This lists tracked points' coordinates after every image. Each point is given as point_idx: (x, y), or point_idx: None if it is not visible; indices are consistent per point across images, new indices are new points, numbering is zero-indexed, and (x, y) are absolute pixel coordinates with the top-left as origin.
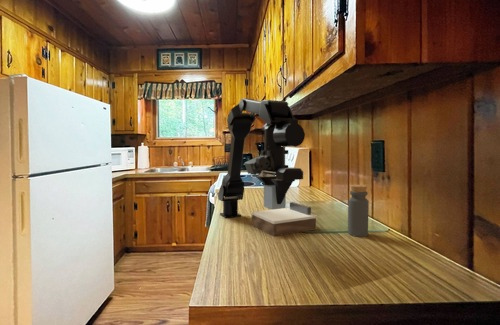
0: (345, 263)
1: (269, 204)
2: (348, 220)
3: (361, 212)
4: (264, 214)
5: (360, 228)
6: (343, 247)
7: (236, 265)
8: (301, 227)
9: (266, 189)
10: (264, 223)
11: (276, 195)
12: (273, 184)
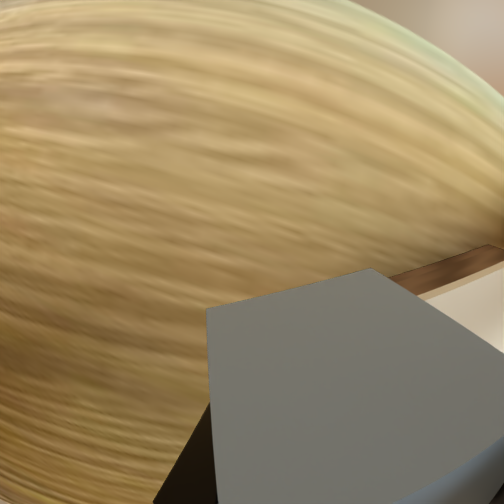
0: (19, 395)
1: (265, 317)
2: None
3: None
4: (486, 303)
5: None
6: (142, 458)
7: (46, 44)
8: None
9: (443, 406)
10: (434, 281)
11: (211, 464)
12: (500, 497)
